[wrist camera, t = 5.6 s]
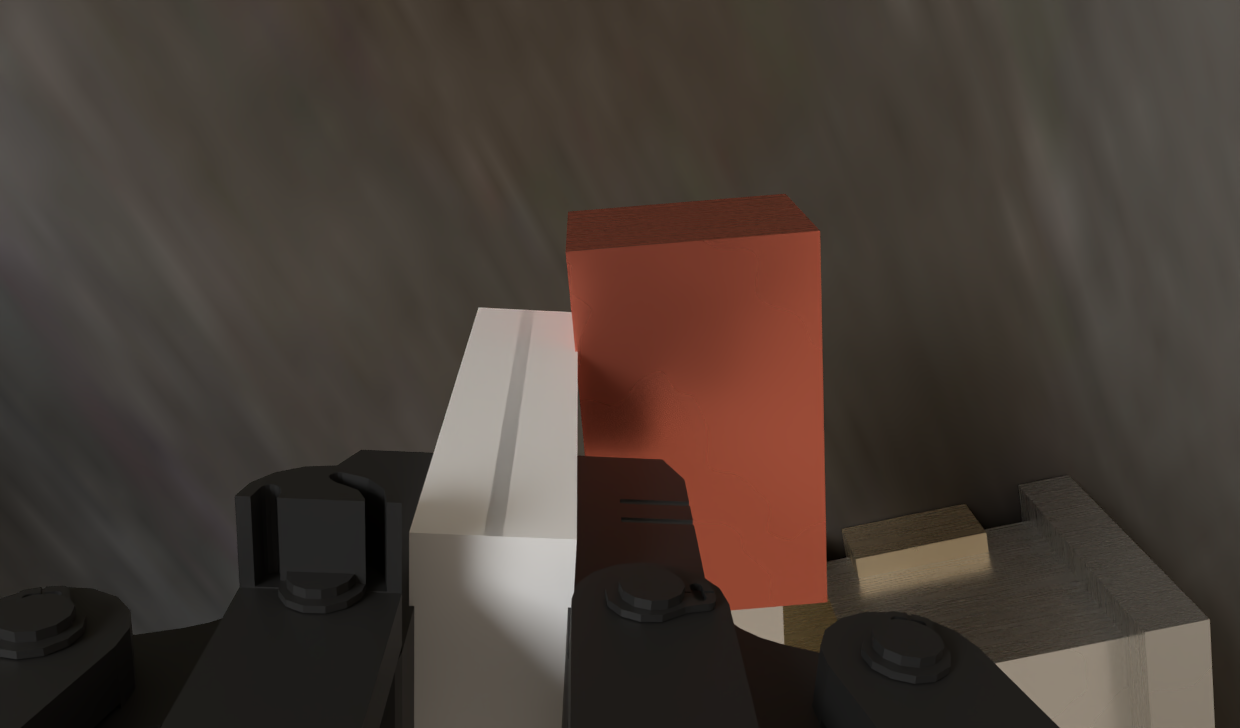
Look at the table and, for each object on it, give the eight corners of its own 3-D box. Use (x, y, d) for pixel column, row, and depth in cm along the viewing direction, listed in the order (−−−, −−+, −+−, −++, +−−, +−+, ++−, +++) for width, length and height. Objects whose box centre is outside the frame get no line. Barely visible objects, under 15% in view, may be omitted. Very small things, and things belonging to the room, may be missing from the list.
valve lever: (814, 1020, 20) (844, 1150, 18) (639, 1035, 20) (646, 1167, 18) (792, 193, 16) (828, 230, 13) (561, 212, 16) (557, 252, 13)
